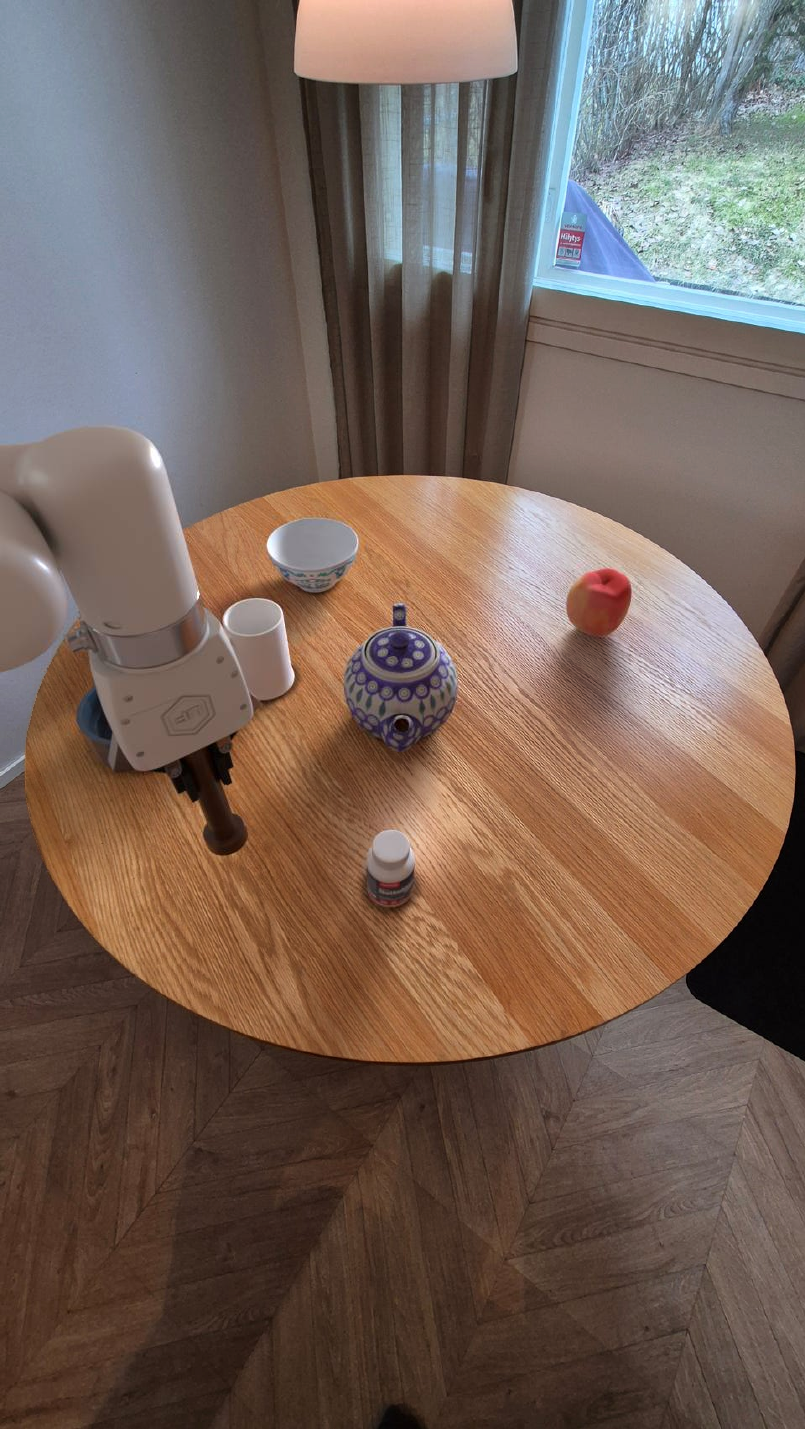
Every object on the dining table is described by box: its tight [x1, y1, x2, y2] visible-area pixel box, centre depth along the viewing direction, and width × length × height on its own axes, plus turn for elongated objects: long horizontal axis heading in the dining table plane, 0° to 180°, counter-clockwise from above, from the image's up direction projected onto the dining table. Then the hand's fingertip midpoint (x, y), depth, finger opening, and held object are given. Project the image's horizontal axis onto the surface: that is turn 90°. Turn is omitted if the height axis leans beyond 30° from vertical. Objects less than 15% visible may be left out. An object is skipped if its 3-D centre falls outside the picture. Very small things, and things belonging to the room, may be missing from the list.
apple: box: [565, 567, 633, 638], centre depth 102 cm, size 10×10×10 cm
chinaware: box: [265, 517, 359, 593], centre depth 111 cm, size 15×15×8 cm
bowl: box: [75, 685, 113, 769], centre depth 88 cm, size 13×13×6 cm
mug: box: [222, 597, 295, 701], centre depth 93 cm, size 12×8×12 cm
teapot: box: [343, 602, 459, 753], centre depth 88 cm, size 25×15×15 cm, turn 178°
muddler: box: [181, 745, 249, 857], centre depth 59 cm, size 4×4×14 cm
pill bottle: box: [365, 829, 416, 908], centre depth 72 cm, size 5×5×9 cm
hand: (205, 781), depth 58 cm, fingers closed on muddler, 2 cm apart
